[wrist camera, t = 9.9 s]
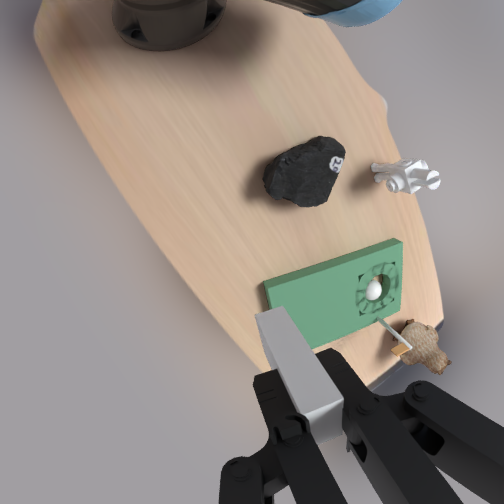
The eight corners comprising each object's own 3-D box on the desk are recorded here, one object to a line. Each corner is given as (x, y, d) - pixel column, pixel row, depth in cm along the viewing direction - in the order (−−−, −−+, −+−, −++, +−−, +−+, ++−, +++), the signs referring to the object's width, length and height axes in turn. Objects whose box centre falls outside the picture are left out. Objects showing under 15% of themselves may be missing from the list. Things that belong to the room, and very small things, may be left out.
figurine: (391, 353, 55) (430, 394, 41) (379, 332, 51) (423, 376, 37) (419, 326, 54) (461, 361, 40) (410, 302, 51) (458, 339, 37)
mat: (263, 281, 41) (292, 328, 30) (393, 237, 44) (444, 262, 33) (278, 351, 46) (304, 402, 35) (392, 304, 49) (433, 337, 38)
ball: (361, 286, 43) (382, 286, 41) (362, 276, 46) (381, 275, 44) (361, 304, 44) (381, 304, 43) (362, 293, 47) (381, 292, 46)
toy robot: (399, 172, 40) (453, 182, 29) (366, 192, 40) (420, 207, 29) (391, 150, 39) (447, 155, 28) (357, 169, 39) (413, 178, 28)
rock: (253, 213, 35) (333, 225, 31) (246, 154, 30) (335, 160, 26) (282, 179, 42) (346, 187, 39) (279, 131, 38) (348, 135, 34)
